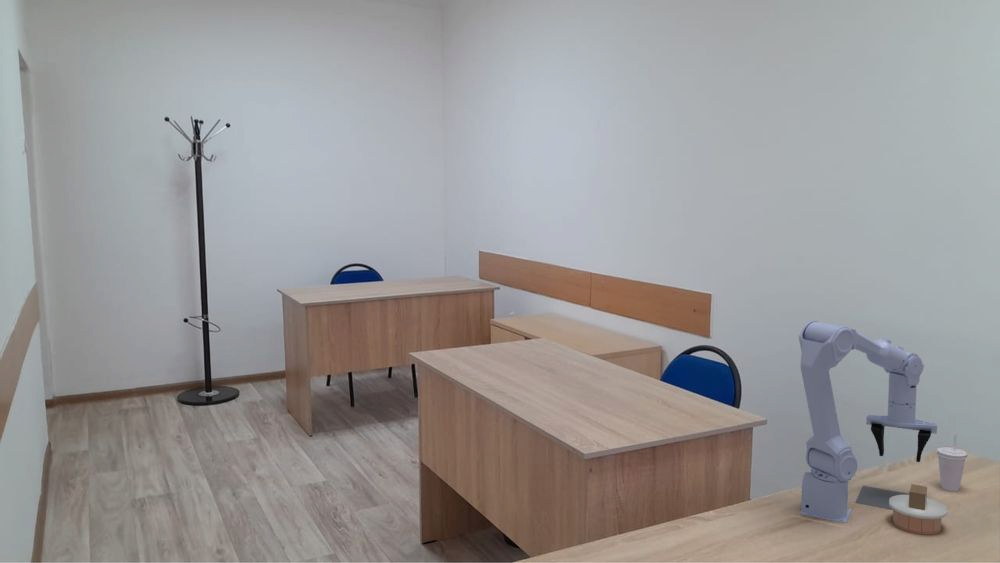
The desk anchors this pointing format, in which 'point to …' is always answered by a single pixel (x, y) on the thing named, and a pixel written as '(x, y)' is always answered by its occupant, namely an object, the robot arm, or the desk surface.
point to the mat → (876, 497)
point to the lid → (918, 504)
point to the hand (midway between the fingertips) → (899, 457)
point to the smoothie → (951, 466)
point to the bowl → (917, 524)
